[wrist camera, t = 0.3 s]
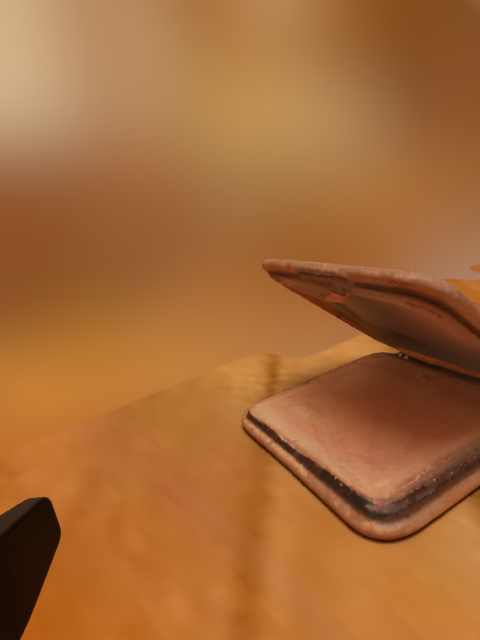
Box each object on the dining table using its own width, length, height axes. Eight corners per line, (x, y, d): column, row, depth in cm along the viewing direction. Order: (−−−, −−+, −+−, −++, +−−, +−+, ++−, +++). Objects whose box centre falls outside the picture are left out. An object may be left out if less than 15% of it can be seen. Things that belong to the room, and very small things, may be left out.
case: (584, 424, 33) (596, 217, 28) (383, 564, 25) (353, 306, 20) (387, 356, 51) (374, 222, 46) (233, 425, 43) (199, 271, 38)
